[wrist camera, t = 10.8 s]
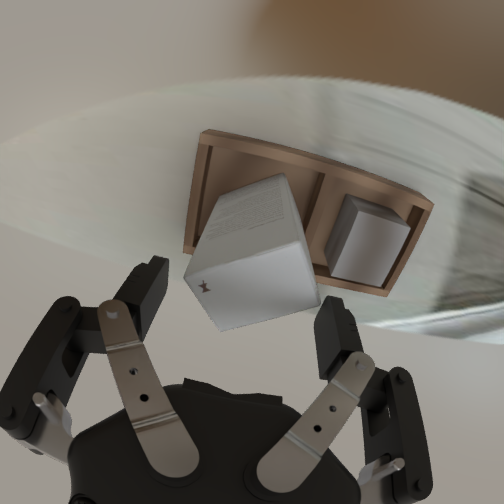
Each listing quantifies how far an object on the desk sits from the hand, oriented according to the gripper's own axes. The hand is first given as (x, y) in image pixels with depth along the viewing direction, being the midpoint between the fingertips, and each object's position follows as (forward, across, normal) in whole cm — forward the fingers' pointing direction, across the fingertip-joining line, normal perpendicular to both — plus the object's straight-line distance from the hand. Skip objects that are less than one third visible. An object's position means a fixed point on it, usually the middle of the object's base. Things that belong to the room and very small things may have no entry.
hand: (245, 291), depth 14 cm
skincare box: (+12, 0, 0) cm, 12 cm away
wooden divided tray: (+13, -5, 0) cm, 14 cm away
